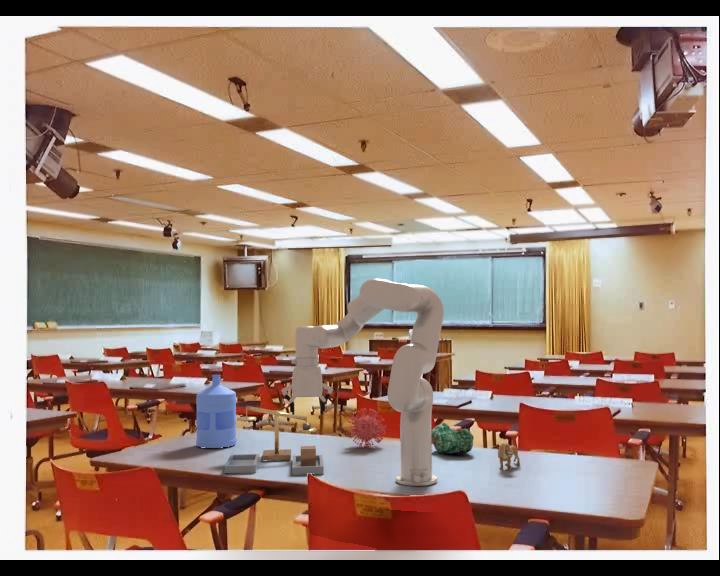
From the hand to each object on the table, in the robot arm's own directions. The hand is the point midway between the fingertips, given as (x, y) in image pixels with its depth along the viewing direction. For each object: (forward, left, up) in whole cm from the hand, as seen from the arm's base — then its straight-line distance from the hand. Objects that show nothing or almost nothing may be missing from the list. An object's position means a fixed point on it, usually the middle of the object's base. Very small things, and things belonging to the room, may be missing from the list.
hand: (307, 413), depth 222 cm
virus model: (+33, -23, -18) cm, 44 cm away
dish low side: (0, 0, -18) cm, 18 cm away
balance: (+18, +11, -18) cm, 28 cm away
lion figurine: (-8, -66, -18) cm, 69 cm away
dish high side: (+5, +22, -18) cm, 29 cm away
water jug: (+45, +36, -18) cm, 61 cm away
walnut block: (0, 0, -17) cm, 17 cm away
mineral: (+18, -53, -18) cm, 59 cm away
